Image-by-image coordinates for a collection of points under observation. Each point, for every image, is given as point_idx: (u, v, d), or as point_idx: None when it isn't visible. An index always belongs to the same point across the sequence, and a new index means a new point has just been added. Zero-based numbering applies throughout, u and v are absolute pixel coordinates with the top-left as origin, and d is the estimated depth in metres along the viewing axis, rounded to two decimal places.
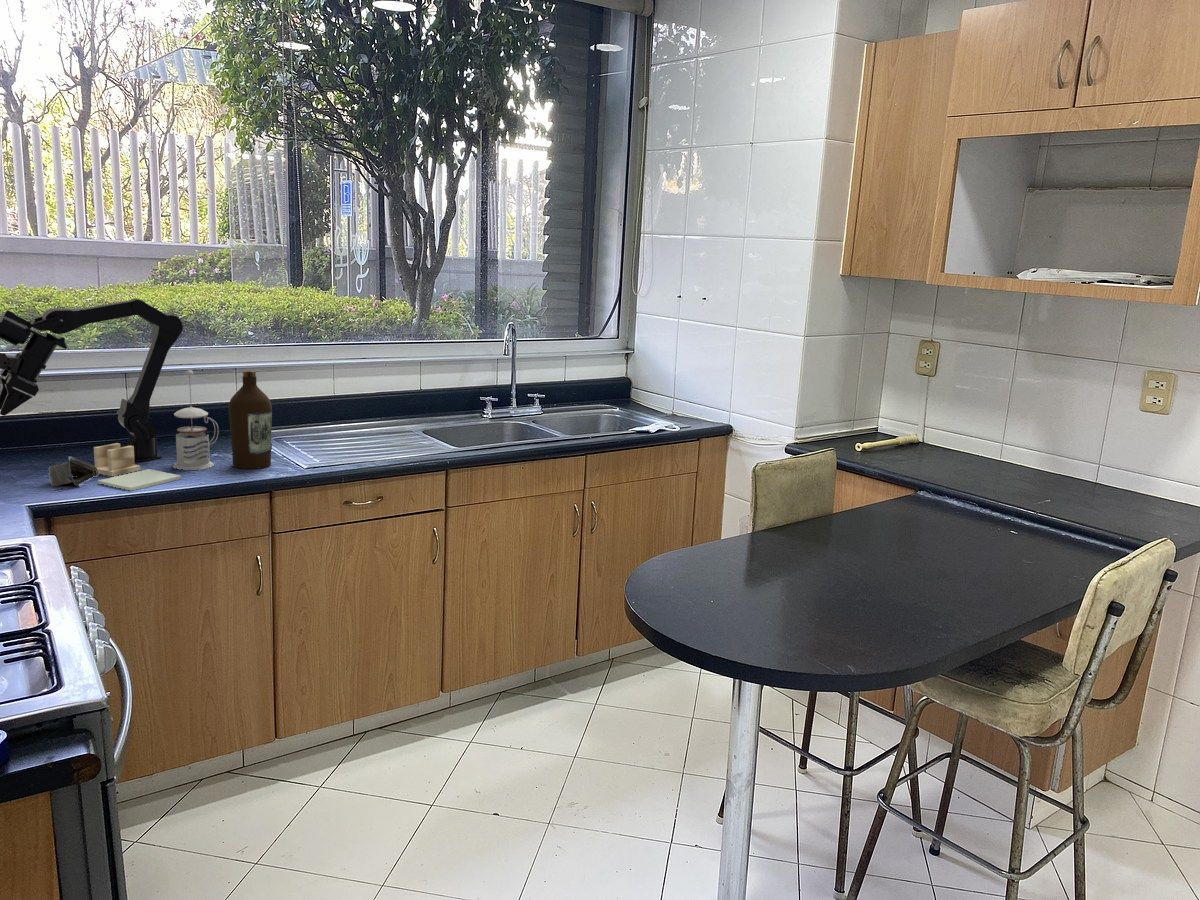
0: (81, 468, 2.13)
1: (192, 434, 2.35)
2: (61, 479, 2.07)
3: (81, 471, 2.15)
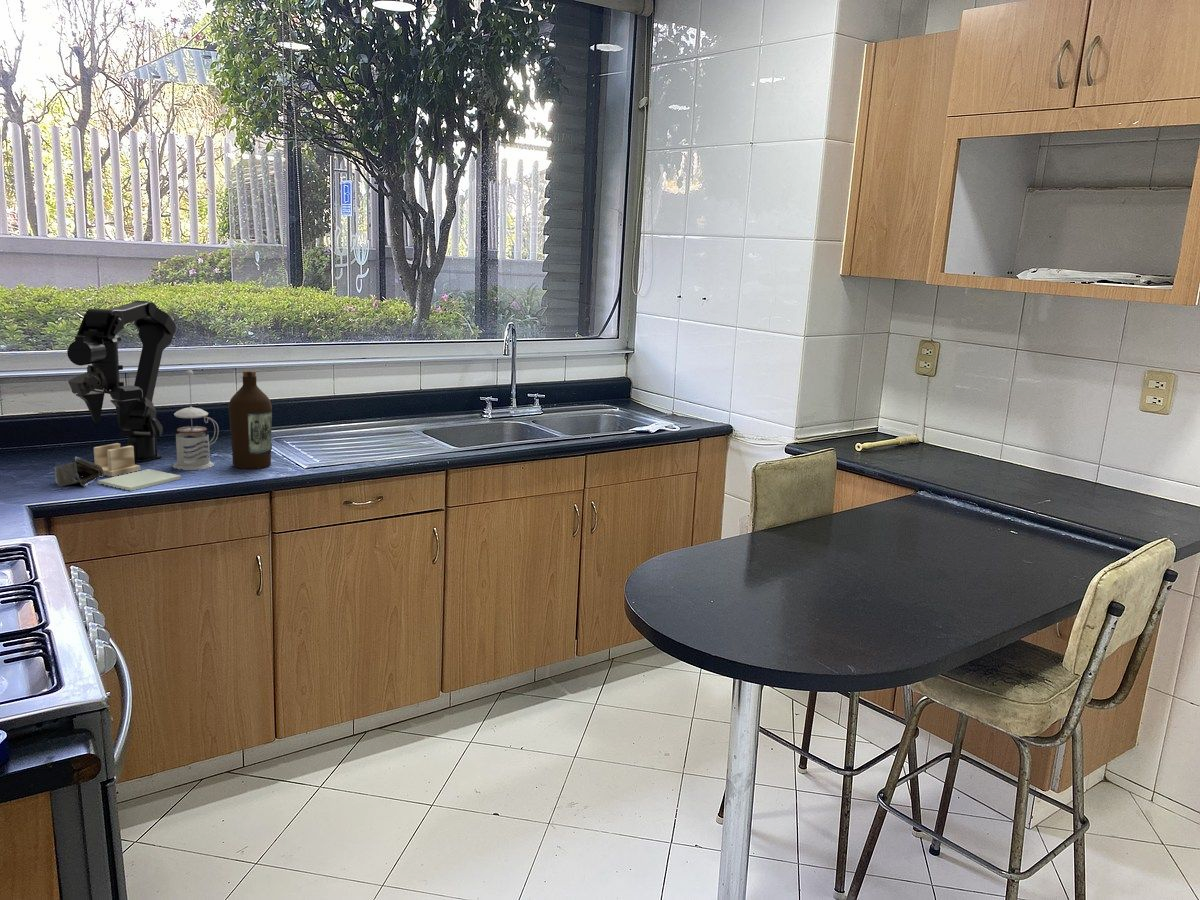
0: (87, 468, 2.13)
1: (192, 434, 2.35)
2: (67, 479, 2.08)
3: (87, 471, 2.15)
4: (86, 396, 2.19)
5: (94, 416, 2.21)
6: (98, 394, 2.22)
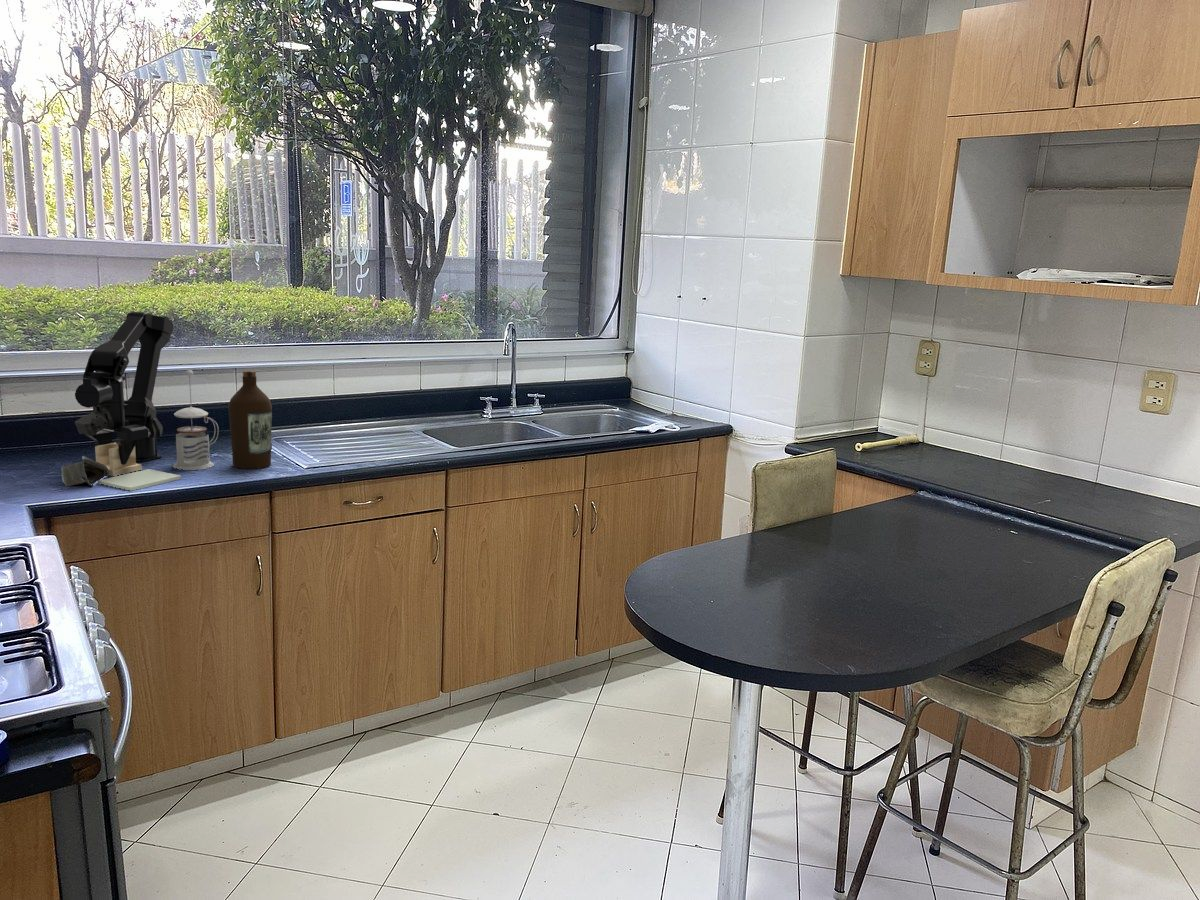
0: (93, 468, 2.13)
1: (192, 434, 2.35)
2: (75, 479, 2.08)
3: (93, 470, 2.15)
4: (96, 436, 2.21)
5: None
6: (107, 433, 2.24)
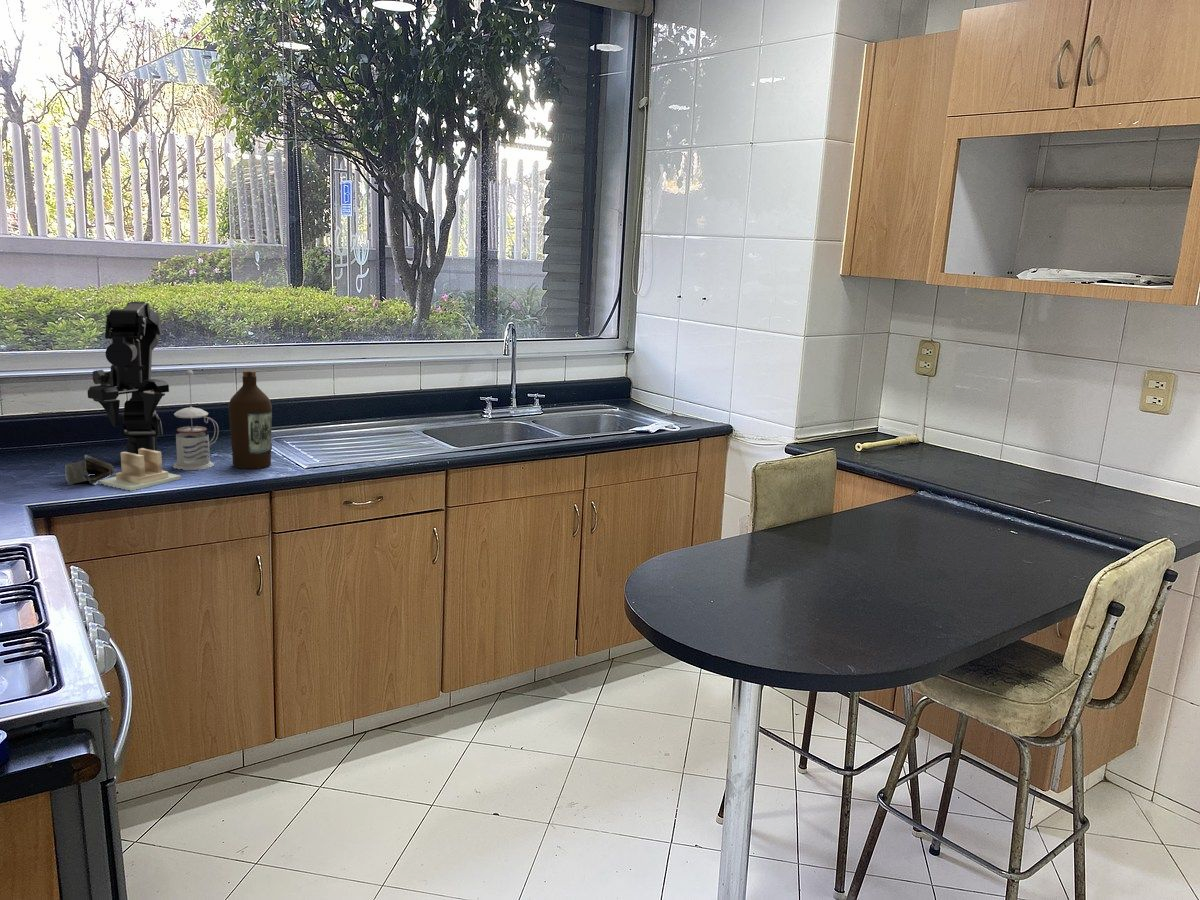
0: (97, 466, 2.15)
1: (192, 434, 2.35)
2: (77, 477, 2.10)
3: (97, 469, 2.17)
4: (142, 394, 2.26)
5: (145, 415, 2.26)
6: (152, 395, 2.25)
